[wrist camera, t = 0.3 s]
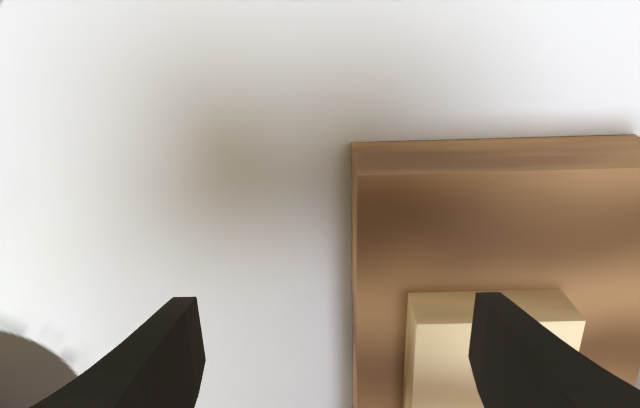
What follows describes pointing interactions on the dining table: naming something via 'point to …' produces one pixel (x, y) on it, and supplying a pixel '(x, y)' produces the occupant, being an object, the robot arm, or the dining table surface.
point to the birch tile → (466, 342)
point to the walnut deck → (493, 239)
